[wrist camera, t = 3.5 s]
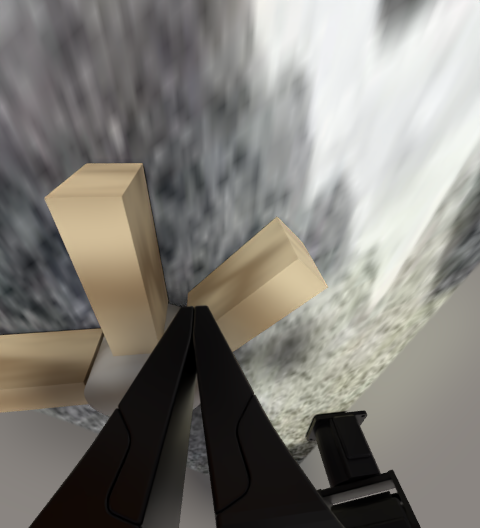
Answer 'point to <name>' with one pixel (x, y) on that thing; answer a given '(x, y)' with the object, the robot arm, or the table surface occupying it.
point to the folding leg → (259, 284)
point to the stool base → (96, 298)
